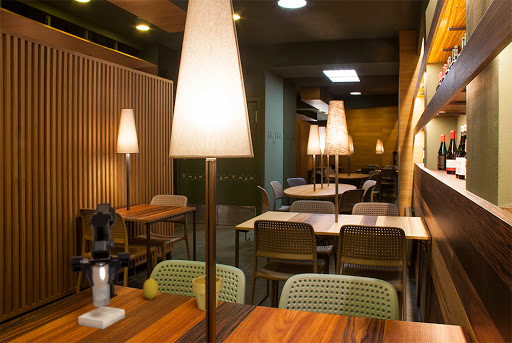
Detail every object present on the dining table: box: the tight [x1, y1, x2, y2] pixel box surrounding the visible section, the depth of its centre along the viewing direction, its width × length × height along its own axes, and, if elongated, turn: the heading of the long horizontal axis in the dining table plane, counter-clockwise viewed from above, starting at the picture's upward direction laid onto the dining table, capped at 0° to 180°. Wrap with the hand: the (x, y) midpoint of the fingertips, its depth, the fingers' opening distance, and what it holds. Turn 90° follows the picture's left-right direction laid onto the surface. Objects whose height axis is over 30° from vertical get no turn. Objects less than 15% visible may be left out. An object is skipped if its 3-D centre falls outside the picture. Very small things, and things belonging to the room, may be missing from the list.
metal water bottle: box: [91, 262, 111, 308], centre depth 132 cm, size 5×5×14 cm
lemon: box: [142, 277, 159, 300], centre depth 151 cm, size 6×6×8 cm
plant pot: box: [191, 275, 223, 311], centre depth 142 cm, size 10×10×10 cm
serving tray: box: [77, 306, 126, 330], centre depth 132 cm, size 10×10×2 cm
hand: (100, 285), depth 131 cm, fingers closed on metal water bottle, 5 cm apart
